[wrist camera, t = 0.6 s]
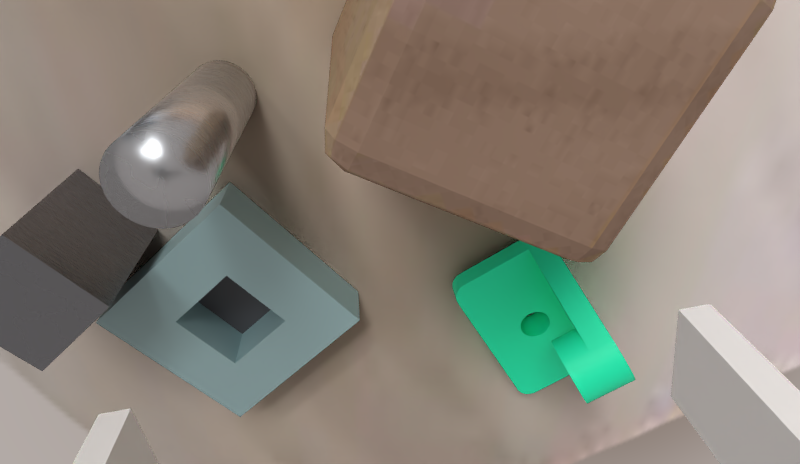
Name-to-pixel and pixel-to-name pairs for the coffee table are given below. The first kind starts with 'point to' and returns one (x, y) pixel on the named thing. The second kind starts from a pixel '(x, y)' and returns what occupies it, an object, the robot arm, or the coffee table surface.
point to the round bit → (179, 147)
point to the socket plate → (233, 303)
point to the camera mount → (540, 322)
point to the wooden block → (528, 104)
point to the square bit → (64, 268)
